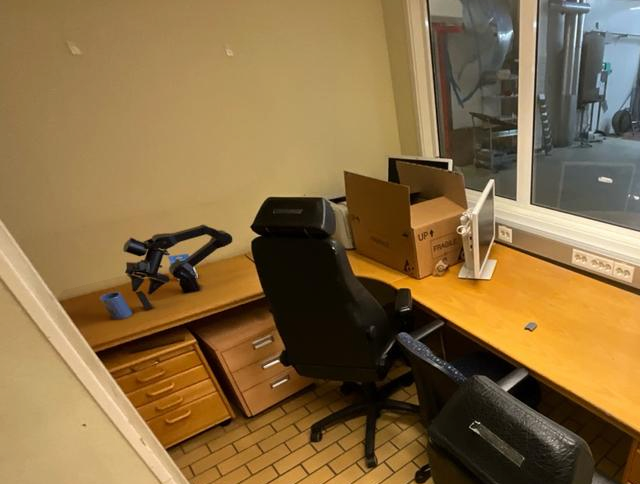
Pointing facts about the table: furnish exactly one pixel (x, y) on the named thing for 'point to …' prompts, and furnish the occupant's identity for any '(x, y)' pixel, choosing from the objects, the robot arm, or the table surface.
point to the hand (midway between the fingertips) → (141, 292)
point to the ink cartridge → (144, 300)
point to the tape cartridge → (185, 256)
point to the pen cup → (116, 305)
